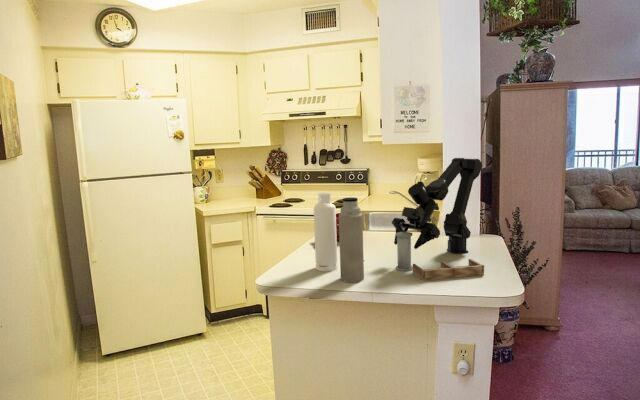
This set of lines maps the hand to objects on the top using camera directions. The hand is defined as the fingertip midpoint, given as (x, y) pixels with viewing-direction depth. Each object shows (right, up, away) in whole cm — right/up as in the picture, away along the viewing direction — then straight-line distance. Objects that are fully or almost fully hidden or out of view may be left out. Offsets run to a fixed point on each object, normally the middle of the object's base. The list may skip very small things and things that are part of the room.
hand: (404, 246), depth 160 cm
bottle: (-28, -9, +5) cm, 30 cm away
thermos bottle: (-20, -11, -8) cm, 24 cm away
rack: (+14, -9, -7) cm, 18 cm away
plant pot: (-19, -2, +50) cm, 54 cm away
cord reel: (0, -8, +1) cm, 8 cm away
